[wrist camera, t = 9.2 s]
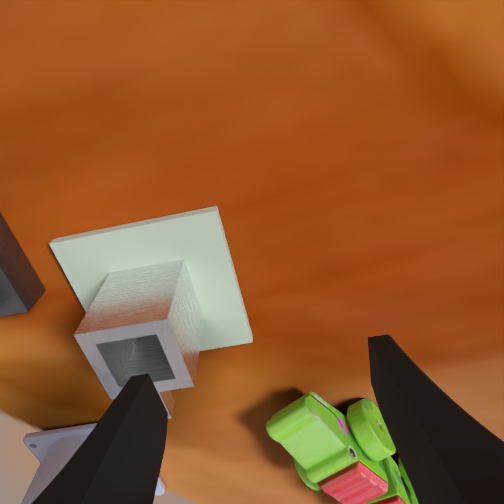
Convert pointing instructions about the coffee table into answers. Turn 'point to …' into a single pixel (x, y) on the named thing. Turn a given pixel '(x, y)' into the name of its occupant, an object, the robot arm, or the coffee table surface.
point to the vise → (16, 276)
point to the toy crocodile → (342, 451)
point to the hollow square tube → (144, 329)
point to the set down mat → (159, 251)
